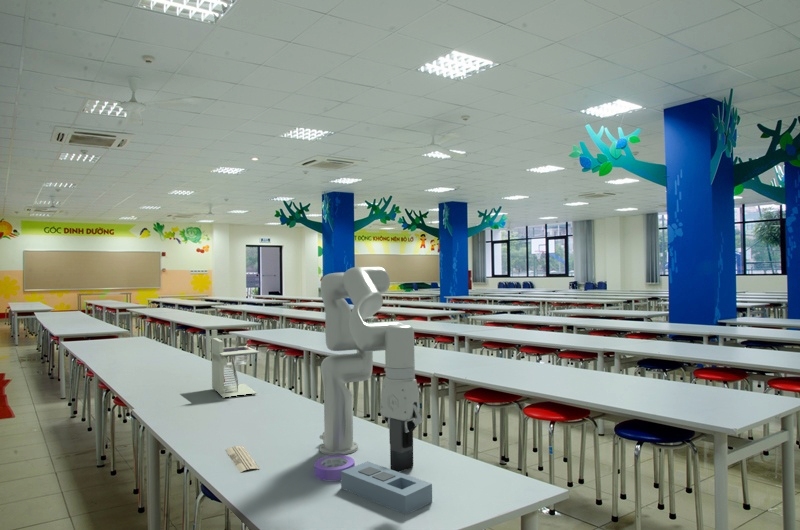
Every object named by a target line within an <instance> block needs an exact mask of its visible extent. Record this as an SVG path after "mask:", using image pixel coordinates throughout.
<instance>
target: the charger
mask: <svg viewBox="0 0 800 530" xmlns="http://www.w3.org/2000/svg"><path fill="white" fill-rule="evenodd" d="M409 424H410V423H409V421H408V425H409ZM389 429H390V433H389V451H390V450H393V451H396V452H399V453H403V452H406V451H409V450H411V449H412V446H411V447H408V448H403V432H405V431H404V424H403V421H400V420H396V419H392V418H390V428H389Z"/></svg>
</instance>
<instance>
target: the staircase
mask: <svg viewBox="0 0 800 530" xmlns="http://www.w3.org/2000/svg"><path fill="white" fill-rule="evenodd" d="M235 343H236V344H235V346H230V347H229V346H228V347H227V346H226V347H224V340H221V339H220V338H218V329H211V386H212V387H211V388H212V390H213V391H215V392H216V391H217V392H218V393H219V394H220V395H221V396H222V397H221V396H220V395H219V394H218V393H217V392H216V393H217V394H218V395H219V396H220V397H221V398H222V399H226V398H225V397H229V398H232V397H231V396H236V397H238V396H237V395H244V396H247V395H246V394H252V395H257V394H258V392H257V391H255V390H254V389H253V388H251V387H250V386H248V385H247V384H246V383H240V384H239V379H238V374H237V369H236V366H247V365H248V361H249V358H250V356H251V355H257V354H258V353H260V351H259V350H257V349H254V348H252V347H250V344H251V343H252V341H251V339H249V340H248V343H247V345H240V346H239V344H238V343H239V342H238V340H236V342H235ZM227 357H231V362H230V361H229V362H228V359H227ZM256 393H257V394H256Z"/></svg>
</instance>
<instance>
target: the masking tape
mask: <svg viewBox="0 0 800 530" xmlns="http://www.w3.org/2000/svg"><path fill="white" fill-rule="evenodd" d="M354 466H356V465H355V459H354V458H353V457H351V456H348V455H327V456H324V457H321V458H319V459H317V460H316V461H315V462H314V476H315V477H316V478H317V479H319V480H322V481H327V482H329V481H330V482H331V481H332V482H334V481H341V471H343V470H346V469H349V468H351V467H354Z"/></svg>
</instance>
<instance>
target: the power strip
mask: <svg viewBox="0 0 800 530" xmlns="http://www.w3.org/2000/svg"><path fill="white" fill-rule="evenodd" d="M340 483H341V484H340V488H341V489H343V490H345V491H347V492H350V493H351V494H355V495H357V496H359V497H362V498H364V499H366V500H369V501H371V502H373V503H376V504H378V505H381V506H383V507H386V508H388V509H391V510H393V511H395V512H397V513H400V514H403V515H404V516H405V515H409V514H410V513H412V512H415V511H416V510H419V509H420V508H422V507H425V506H427V505H429V504H431V503H433V483H431V482H429V481H426V480H424V479H423V480H422V479H419V478H416V477H414V476H411V475H408V474H405V473H403V472H397V471H394V470H391V469H390V468H388V467H386V466H385V467H384V466H382V465H379V464H377V463H373V462H371V461H365V462H363V463H360V464H357V465H355V466H354V467H351V468H349V469H346V470H343V471H341V480H340Z"/></svg>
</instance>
